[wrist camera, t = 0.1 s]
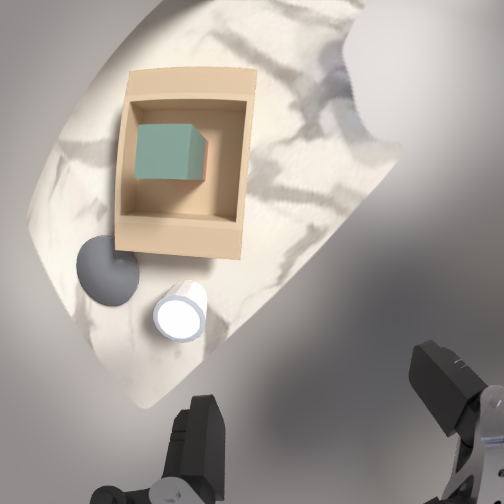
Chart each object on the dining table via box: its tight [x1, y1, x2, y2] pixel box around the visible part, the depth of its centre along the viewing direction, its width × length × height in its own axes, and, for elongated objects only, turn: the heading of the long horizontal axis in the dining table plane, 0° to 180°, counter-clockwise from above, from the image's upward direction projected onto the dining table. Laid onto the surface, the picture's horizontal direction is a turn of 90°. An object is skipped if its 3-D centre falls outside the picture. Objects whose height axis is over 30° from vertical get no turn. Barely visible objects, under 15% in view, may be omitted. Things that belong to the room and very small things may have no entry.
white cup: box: [153, 280, 207, 343], centre depth 36 cm, size 7×7×7 cm
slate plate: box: [76, 236, 139, 306], centre depth 37 cm, size 11×11×1 cm
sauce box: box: [134, 124, 209, 180], centre depth 28 cm, size 5×5×12 cm
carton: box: [115, 67, 258, 260], centre depth 31 cm, size 23×16×6 cm
